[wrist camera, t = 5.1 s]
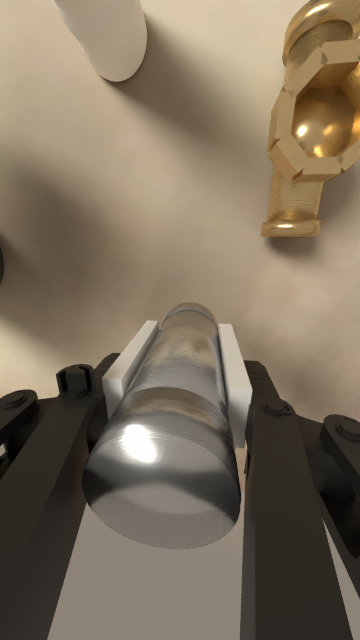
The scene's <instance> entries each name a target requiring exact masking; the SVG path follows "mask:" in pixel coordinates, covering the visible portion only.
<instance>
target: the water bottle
mask: <svg viewBox="0 0 360 640" xmlns="http://www.w3.org/2000/svg"><path fill="white" fill-rule="evenodd" d="M52 1H53V3H54V5H55V7H56V9H57V11H58V13H59V15H60V16H61V18H62V20H63V21H64V23H65V24H66V26H67V27H68V29H69V30H70V31H71V33H72V34H73V35H74V37H75V38H76V39H77V41H78V43H79V45H80V47H81V49H82V51H83V52H84V54H85V56H86V58H87V59H88V61H89V62H90V64H91V65H92V67H93V68H94V69H95V71H96V72H97V73H98V74H99V75H101V76H102V77H104V78H105V79H107V80H110V81H115V82H118V81H123V80H126V79H128V78H129V77H131V76H132V75H133V74H134V73H135V72H136V71H137V70H138V68H139V67H140V65H141V63H142V61H143V58H144V55H145V51H146V46H147V28H146V22H145V18H144V14H143V10H142V7H141V4H140V1H139V0H52Z"/></svg>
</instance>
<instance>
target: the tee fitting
mask: <svg viewBox="0 0 360 640" xmlns="http://www.w3.org/2000/svg"><path fill="white" fill-rule="evenodd" d="M359 34H360V0H311V1H309V2H308V3H307V4H305V5H304V6H303V7H302V8H301V9H300V10H299V11H298V12H297V13H296V15H295V16H294V17H293V18H292V20H291V22H290V23H289V25H288V27H287V30H286V33H285V41H284V49H283V57H282V58H283V64H284V66H285V67H286V68H287V69H286V77H285V84H284V86H283V88H282V90H281V92H280V94H279V96H278V98H277V100H276V102H275V105H274V107H273V109H272V112H271V121H270V129H269V138H268V147H267V152H269V151H271V152H270V154H269V155H268V157H269V158H270V159H271V160H272V162H273V163H274V171H273V179H272V187H271V195H270V203H269V210H268V218H267V222H264V223H262V230H261V236H262V237H309V236H319V232H320V227H321V222H322V221H320V220H317V215H318V210H319V205H320V200H321V195H322V190H323V185H324V182H326V181H328V180H330V179H332V178H334V177H336V176H338V175H340V174H341V173H343V172H345V171H346V170H347V169H348V168H349V167H351V166H352V165H353V164H354V163H355V162H356V161H357V160H358V159H359V158H360V39H358V37H359Z"/></svg>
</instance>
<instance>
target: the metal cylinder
mask: <svg viewBox="0 0 360 640" xmlns="http://www.w3.org/2000/svg"><path fill="white" fill-rule="evenodd" d="M82 490H83V493H84V497H85V499H86V501H87V503H88V505H89V506H90V508H91V510H92V511H93V512H94V513H95V514H96V516H97V517H98V518H99V519H100V520H101V521H102V522H104V523H105V524H106V525H107V526H109V527H110V528H111V529H113V530H114V531H116V532H117V533H119V534H121V535H123V536H125V537H127V538H129V539H131V540H134V541H136V542H139V543H142V544H146V545H149V546H154V547H159V548H166V549H189V548H197V547H201V546H205V545H208V544H210V543H213V542H215V541H217V540H219V539H220V538H222V537H224V536H225V535H226V534H227V533H228V532H230V530H231V529H232V528H233V527H234V525H235V524H236V522H237V520H238V517H239V513H240V503H241V490H240V483H239V476H238V469H237V462H236V455H235V448H234V441H233V434H232V430H231V427H230V423H229V416H228V409H227V401H226V394H225V386H224V379H223V371H222V364H221V356H220V349H219V341H218V328H217V322H216V319H215V317H214V315H213V314H212V313H211V311H209V310H208V309H207V308H206V307H204V306H202V305H200V304H197V303H183V304H180V305H178V306H176V307H174V308H173V309H172V310H171V311H170V312H169V313H168V315H167V317H166V318H165V320H164V322H163V324H162V326H161V329H160V331H159V333H158V334H157V336H156V338H155V340H154V342H153V344H152V345H151V347H150V349H149V351H148V353H147V355H146V356H145V358H144V360H143V362H142V364H141V366H140V367H139V369H138V371H137V373H136V375H135V377H134V378H133V380H132V382H131V384H130V386H129V388H128V389H127V391H126V393H125V395H124V397H123V399H122V400H121V402H120V403H119V404H118V406H117V407H116V409H115V410H114V412H113V414H112V415H111V417H110V419H109V421H108V423H107V424H106V426H105V428H104V430H103V432H102V433H101V435H100V437H99V439H98V441H97V442H96V444H95V446H94V448H93V450H92V451H91V453H90V455H89V457H88V459H87V461H86V464H85V468H84V471H83V475H82Z"/></svg>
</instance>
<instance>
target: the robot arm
mask: <svg viewBox="0 0 360 640" xmlns="http://www.w3.org/2000/svg"><path fill="white" fill-rule="evenodd" d="M2 275H3V259H2V254H1V250H0V282H1V279H2ZM158 333H159V326H158V321H148V320H147V321H146V323H145V324H144V325H143V326H142V328H141V329H140V330H139V331H138V333H137V334H136V335H135V336H134V338H133V339H132V340H131V342H130V343H129V344H128V345H127V347H126V348H125V349H124V350H123V352H122V353H112V354H110V355H109V356H107V357H105V358H104V359H103V360H102V362H101V363H100V364H99V365H98V366H97V367H96V369H93V368H92V366H90V365H87V364H78V365H72V366H69V367H66V368H64V369H62V370H60V371H59V372H58V373H57V374H56V378H57V382H58V387H59V392H60V394H59V395H58V396H57V397H54V398H47V399H39V400H38V397H37V394H36V392H35V391H33V390H19V391H14V392H12V393H10V394H7V395H5V396H3V397H2V398H0V446H1V445H2V444H3V445H4V448H5V451H6V452H5V453H4V454H3V455H2V456H0V640H47V638H48V634H49V631H50V628H51V624H52V621H53V617H54V614H55V610H56V607H57V603H58V600H59V596H60V593H61V589H62V586H63V582H64V579H65V575H66V572H67V568H68V565H69V562H70V558H71V555H72V551H73V548H74V544H75V541H76V537H77V533H78V530H79V526H80V523H81V520H82V516H83V513H84V509H85V506H86V502H87V501H86V499H85V497H84V493H83V490H82V475H83V471H84V468H85V464H86V461H87V459H88V457H89V455H90V453H91V451H92V450H93V448H94V446H95V444H96V442H97V441H98V439H99V437H100V435H101V433H102V432H103V430H104V428H105V426H106V424H107V423H108V421H109V419H110V417H111V415H112V414H113V412H114V410H115V409H116V407H117V406H118V404H119V403H120V402H121V400H122V399H123V397H124V395H125V393H126V391H127V389H128V388H129V386H130V384H131V382H132V380H133V378H134V377H135V375H136V373H137V371H138V369H139V367H140V366H141V364H142V362H143V360H144V358H145V356H146V355H147V353H148V351H149V349H150V347H151V345H152V344H153V342H154V340H155V338H156V336H157V334H158ZM218 341H219V349H220V356H221V364H222V371H223V379H224V386H225V394H226V401H227V409H228V416H229V423H230V427H231V430H232V434H233V441H234V447H238V448H244V445H245V438H246V443H247V448H248V449H247V456H246V463H245V470H244V474H246V477H245V506H244V507H245V508H244V535H243V565H242V593H241V596H242V597H241V623H240V640H353V638H352V634H351V630H350V626H349V622H348V618H347V614H346V610H345V606H344V602H343V598H342V594H341V591H340V586H339V582H338V578H337V575H336V571H335V567H334V563H333V559H332V555H331V551H330V547H329V543H328V540H327V535H326V531H325V527H324V523H323V520H324V522H325V524H326V526H327V529H328V531H329V533H330V535H331V537H332V540H333V542H334V544H335V546H336V548H337V550H338V553H339V555H340V557H341V559H342V561H343V563H344V565H345V568H346V570H347V572H348V574H349V577H350V579H351V581H352V583H353V585H354V587H355V590H356V592H357V594H358V596H359V598H360V422H358V421H356V420H354V419H352V418H349V417H346V416H342V415H337V414H335V415H328V416H327V417H325V418H324V422H323V423H320V422H316V421H313V420H310V419H306V418H304V417H301V416H299V415H297V414H296V413H295V411H294V409H293V407H292V406H291V405H290V404H288V403H287V402H286V401H284V400H282V399H280V397H279V395H278V393H277V391H276V389H275V387H274V385H273V383H272V381H271V378H270V376H269V375H268V372H267V370H266V368H265V367H264V366H263V365H262V364H261V363H260V362H258V361H247V360H243V359H242V356H241V353H240V350H239V347H238V343H237V340H236V337H235V334H234V331H233V328H232V325H231V324H219V334H218ZM322 518H323V519H322Z"/></svg>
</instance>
